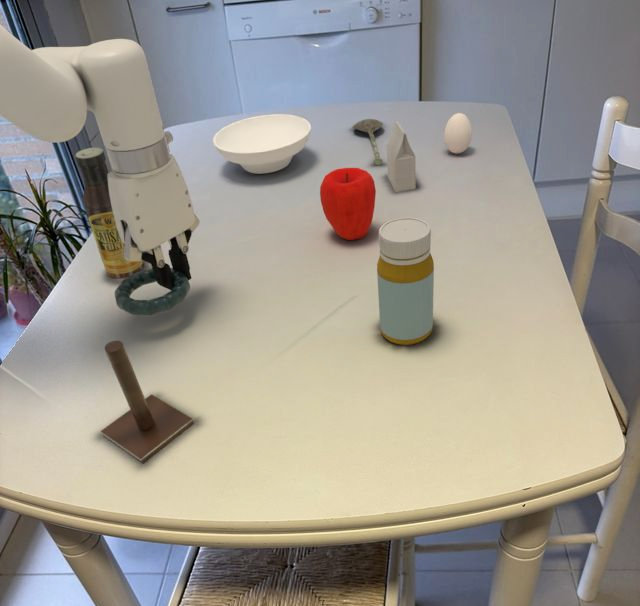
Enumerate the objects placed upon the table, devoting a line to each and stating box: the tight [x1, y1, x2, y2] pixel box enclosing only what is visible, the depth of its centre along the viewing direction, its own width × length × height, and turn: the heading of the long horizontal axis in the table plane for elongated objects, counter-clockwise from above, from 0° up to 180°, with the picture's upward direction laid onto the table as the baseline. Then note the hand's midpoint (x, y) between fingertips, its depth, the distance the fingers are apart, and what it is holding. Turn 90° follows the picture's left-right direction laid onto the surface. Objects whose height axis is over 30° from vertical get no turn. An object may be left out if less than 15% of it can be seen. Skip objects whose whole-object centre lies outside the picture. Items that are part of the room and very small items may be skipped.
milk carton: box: [386, 120, 417, 193], centre depth 116 cm, size 4×7×10 cm, turn 8°
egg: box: [443, 112, 473, 155], centre depth 124 cm, size 5×5×7 cm
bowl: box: [212, 113, 312, 174], centre depth 130 cm, size 20×20×7 cm
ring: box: [114, 267, 191, 316], centre depth 91 cm, size 10×10×2 cm
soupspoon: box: [352, 118, 384, 166], centre depth 133 cm, size 22×3×7 cm
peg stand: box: [100, 340, 195, 464], centre depth 74 cm, size 8×8×13 cm
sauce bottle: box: [74, 147, 144, 279], centre depth 100 cm, size 6×6×20 cm
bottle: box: [376, 216, 435, 346], centre depth 82 cm, size 7×7×15 cm
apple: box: [319, 167, 377, 241], centre depth 104 cm, size 9×9×11 cm
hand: (175, 281), depth 94 cm, fingers closed on ring, 2 cm apart
